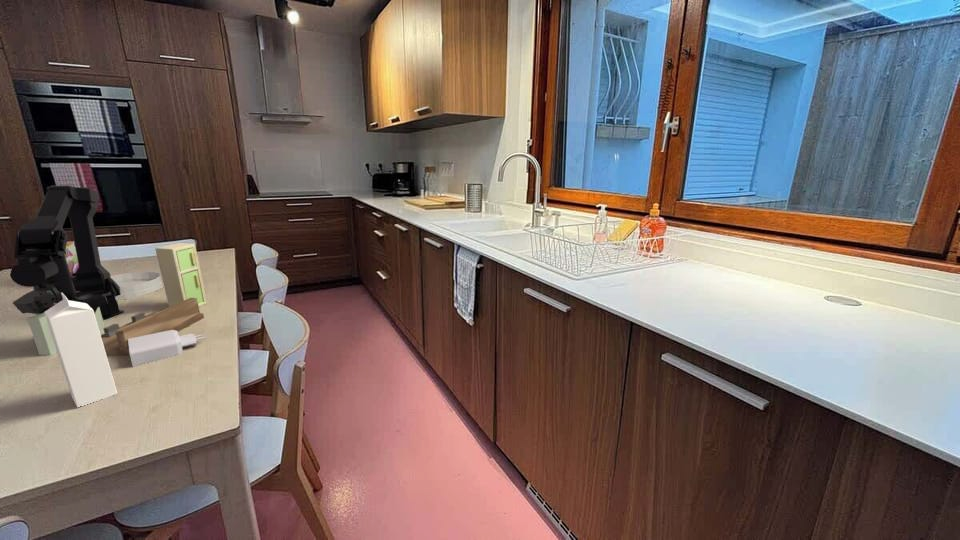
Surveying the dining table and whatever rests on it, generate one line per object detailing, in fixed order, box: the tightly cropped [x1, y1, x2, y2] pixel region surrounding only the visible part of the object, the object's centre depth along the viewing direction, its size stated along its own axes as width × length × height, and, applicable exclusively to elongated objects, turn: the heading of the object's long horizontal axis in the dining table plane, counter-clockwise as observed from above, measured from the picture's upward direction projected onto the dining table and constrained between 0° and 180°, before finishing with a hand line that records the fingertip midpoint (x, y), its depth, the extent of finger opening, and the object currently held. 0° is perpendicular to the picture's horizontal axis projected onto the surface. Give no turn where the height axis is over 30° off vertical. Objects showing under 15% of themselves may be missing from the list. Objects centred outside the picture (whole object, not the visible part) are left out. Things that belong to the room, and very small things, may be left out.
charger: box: [128, 330, 206, 368], centre depth 98 cm, size 5×9×15 cm
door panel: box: [26, 307, 106, 356], centre depth 102 cm, size 3×14×10 cm, turn 177°
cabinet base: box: [100, 298, 205, 356], centre depth 107 cm, size 16×24×6 cm, turn 177°
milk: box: [44, 293, 118, 408], centre depth 76 cm, size 6×6×22 cm
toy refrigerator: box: [155, 242, 208, 308], centre depth 125 cm, size 8×7×21 cm
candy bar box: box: [65, 240, 79, 276], centre depth 149 cm, size 11×5×16 cm, turn 6°
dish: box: [110, 271, 164, 302], centre depth 142 cm, size 22×22×5 cm
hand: (71, 332), depth 102 cm, fingers open, 7 cm apart
